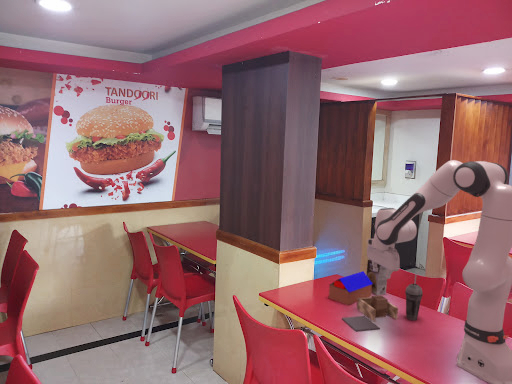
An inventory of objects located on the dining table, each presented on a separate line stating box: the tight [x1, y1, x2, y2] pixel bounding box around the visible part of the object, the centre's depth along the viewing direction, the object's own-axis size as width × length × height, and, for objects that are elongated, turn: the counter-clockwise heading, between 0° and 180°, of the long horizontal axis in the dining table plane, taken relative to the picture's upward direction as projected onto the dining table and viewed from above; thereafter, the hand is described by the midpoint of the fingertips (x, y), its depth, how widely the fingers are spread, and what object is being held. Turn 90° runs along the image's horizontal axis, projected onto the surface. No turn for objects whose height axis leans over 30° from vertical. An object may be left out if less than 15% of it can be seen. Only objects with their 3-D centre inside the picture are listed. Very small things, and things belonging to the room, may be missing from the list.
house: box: [328, 270, 373, 306], centre depth 205 cm, size 12×20×12 cm, turn 132°
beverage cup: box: [404, 273, 423, 321], centre depth 183 cm, size 7×7×20 cm
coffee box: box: [366, 259, 388, 296], centre depth 214 cm, size 9×6×16 cm
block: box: [371, 295, 389, 319], centre depth 185 cm, size 5×5×8 cm
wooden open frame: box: [356, 296, 399, 322], centre depth 187 cm, size 14×12×5 cm
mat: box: [341, 315, 381, 332], centre depth 176 cm, size 12×11×1 cm
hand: (381, 274), depth 184 cm, fingers open, 8 cm apart
